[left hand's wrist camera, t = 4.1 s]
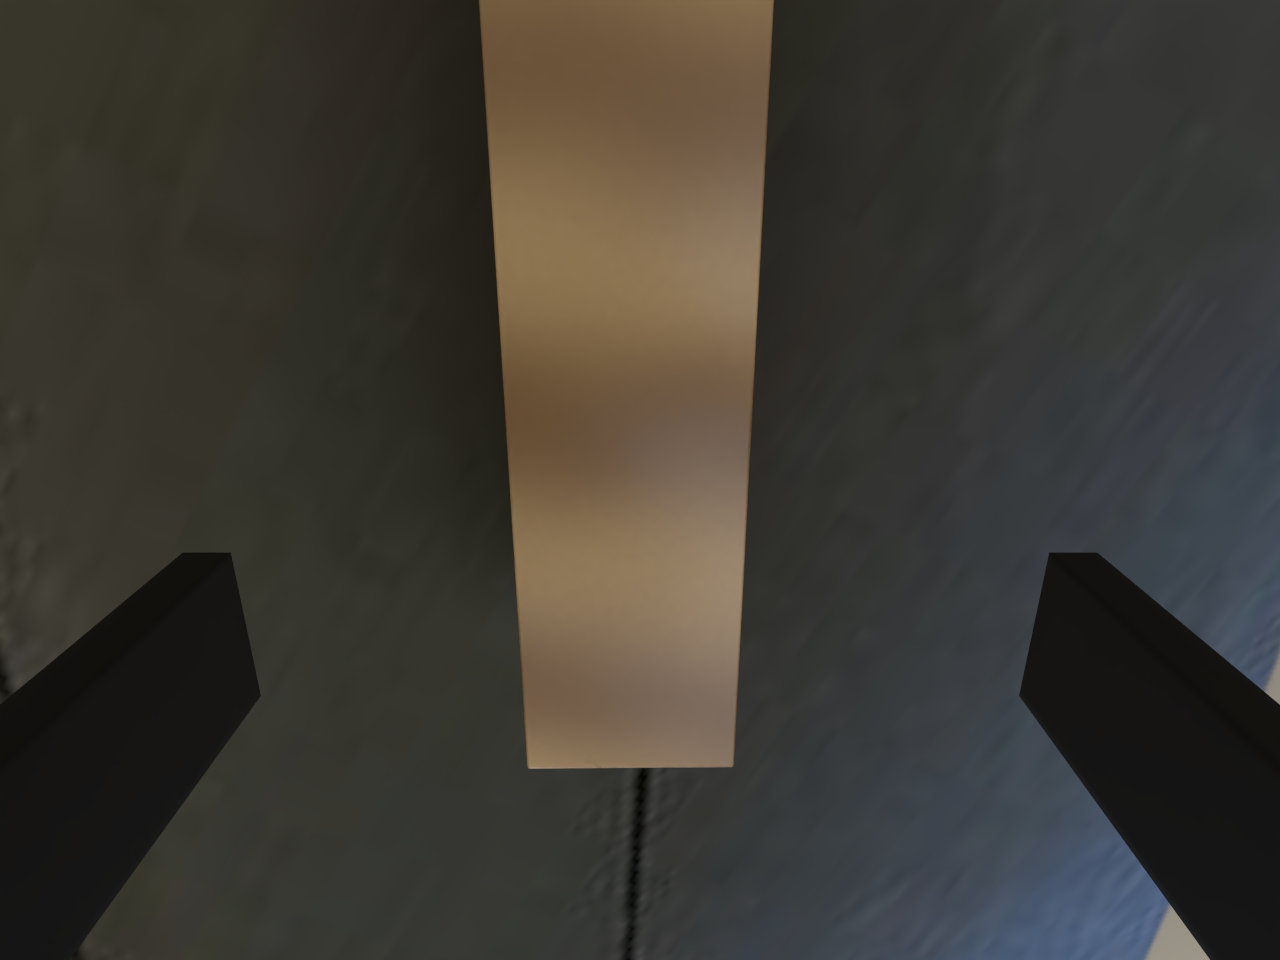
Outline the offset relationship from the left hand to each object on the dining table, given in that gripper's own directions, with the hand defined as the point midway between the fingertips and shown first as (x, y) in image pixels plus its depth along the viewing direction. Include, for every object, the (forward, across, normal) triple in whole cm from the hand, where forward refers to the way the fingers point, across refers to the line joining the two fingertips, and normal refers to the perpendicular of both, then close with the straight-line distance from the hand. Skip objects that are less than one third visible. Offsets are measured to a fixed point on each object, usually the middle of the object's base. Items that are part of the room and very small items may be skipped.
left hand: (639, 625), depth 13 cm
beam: (+12, 0, -28) cm, 30 cm away
